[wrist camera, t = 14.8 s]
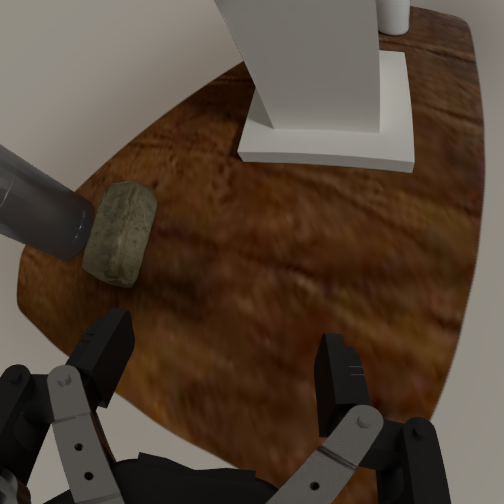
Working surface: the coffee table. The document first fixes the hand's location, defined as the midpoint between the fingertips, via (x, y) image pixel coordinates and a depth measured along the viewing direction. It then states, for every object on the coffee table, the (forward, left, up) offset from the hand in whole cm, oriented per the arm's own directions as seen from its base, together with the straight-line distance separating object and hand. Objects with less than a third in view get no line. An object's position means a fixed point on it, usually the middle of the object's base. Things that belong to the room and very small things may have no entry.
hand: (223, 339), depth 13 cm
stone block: (-21, +8, -17) cm, 28 cm away
